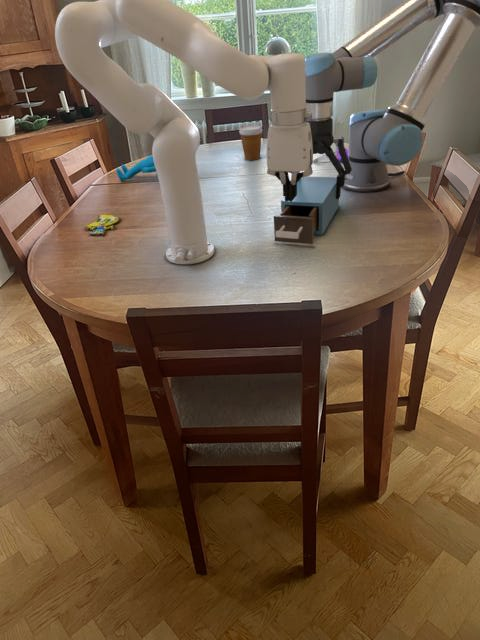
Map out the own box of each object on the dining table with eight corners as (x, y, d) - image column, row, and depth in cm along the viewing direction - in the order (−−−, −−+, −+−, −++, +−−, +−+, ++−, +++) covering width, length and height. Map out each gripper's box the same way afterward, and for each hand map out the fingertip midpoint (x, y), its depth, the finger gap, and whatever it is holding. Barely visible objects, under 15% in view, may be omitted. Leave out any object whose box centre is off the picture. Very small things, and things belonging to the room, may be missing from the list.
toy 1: (75, 232, 142) (99, 213, 154) (76, 234, 142) (100, 215, 154) (106, 232, 139) (128, 213, 151) (107, 235, 140) (128, 216, 152)
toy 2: (125, 157, 192) (192, 136, 181) (136, 182, 197) (202, 163, 186) (107, 170, 178) (179, 147, 168) (120, 197, 183) (190, 177, 173)
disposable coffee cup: (238, 160, 197) (235, 130, 191) (244, 154, 205) (242, 125, 198) (260, 160, 194) (258, 129, 188) (266, 154, 202) (264, 124, 195)
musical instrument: (326, 170, 180) (372, 154, 183) (325, 164, 178) (371, 148, 182) (297, 161, 200) (339, 146, 204) (296, 155, 199) (338, 141, 202)
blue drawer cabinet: (322, 235, 128) (322, 203, 123) (282, 232, 132) (280, 201, 127) (338, 206, 145) (339, 177, 140) (302, 204, 149) (302, 176, 144)
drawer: (306, 254, 117) (306, 228, 113) (267, 250, 121) (266, 225, 117) (329, 215, 137) (330, 191, 133) (295, 213, 140) (295, 190, 137)
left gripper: (325, 114, 105) (324, 195, 115) (261, 115, 111) (265, 192, 120) (318, 121, 100) (317, 206, 110) (250, 121, 105) (255, 203, 115)
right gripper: (365, 114, 129) (360, 194, 141) (280, 115, 137) (283, 190, 149) (360, 120, 123) (356, 202, 135) (273, 121, 131) (276, 198, 143)
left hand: (290, 199), depth 115 cm, fingers closed
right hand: (318, 196), depth 142 cm, fingers closed on blue drawer cabinet, 11 cm apart
